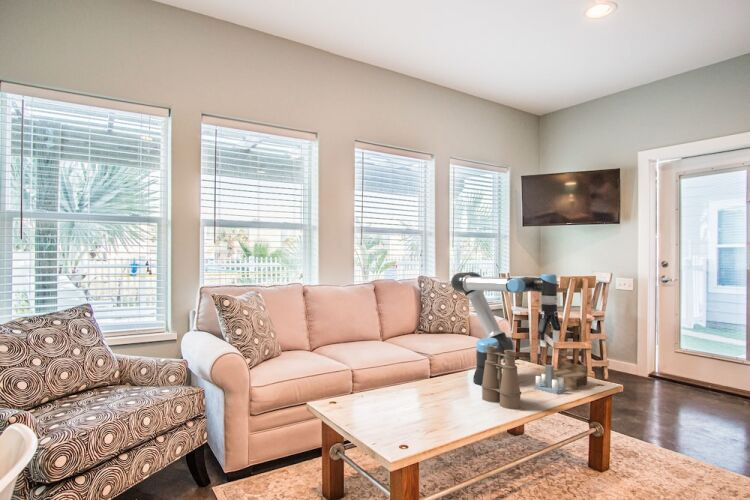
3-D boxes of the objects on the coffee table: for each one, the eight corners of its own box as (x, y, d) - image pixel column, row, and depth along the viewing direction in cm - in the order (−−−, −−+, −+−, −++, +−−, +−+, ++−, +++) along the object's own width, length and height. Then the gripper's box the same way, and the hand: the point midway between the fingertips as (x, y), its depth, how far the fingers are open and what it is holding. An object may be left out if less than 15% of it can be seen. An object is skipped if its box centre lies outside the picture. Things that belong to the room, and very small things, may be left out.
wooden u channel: (549, 383, 226) (548, 366, 226) (561, 378, 236) (561, 361, 236) (575, 389, 216) (575, 371, 216) (587, 384, 226) (587, 366, 226)
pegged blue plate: (533, 389, 217) (533, 364, 218) (543, 385, 224) (543, 361, 224) (556, 394, 208) (556, 369, 209) (565, 390, 215) (565, 366, 215)
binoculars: (476, 397, 203) (476, 346, 203) (490, 394, 208) (490, 344, 209) (511, 411, 186) (511, 354, 186) (526, 406, 191) (525, 351, 192)
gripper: (544, 306, 206) (544, 349, 206) (567, 302, 222) (567, 342, 222) (530, 304, 212) (530, 346, 211) (553, 301, 228) (553, 340, 228)
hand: (549, 344), depth 217 cm, fingers open, 13 cm apart
